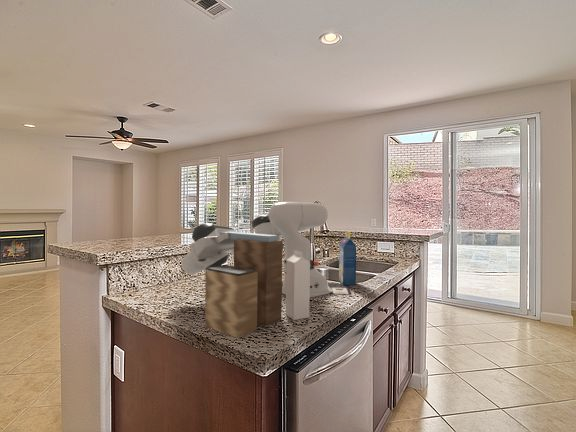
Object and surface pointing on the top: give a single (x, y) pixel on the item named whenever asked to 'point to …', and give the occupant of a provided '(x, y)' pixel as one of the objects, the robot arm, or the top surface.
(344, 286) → the chocolate bar
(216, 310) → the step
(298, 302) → the milk
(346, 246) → the blue food package
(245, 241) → the stand
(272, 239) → the slat
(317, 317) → the top surface
